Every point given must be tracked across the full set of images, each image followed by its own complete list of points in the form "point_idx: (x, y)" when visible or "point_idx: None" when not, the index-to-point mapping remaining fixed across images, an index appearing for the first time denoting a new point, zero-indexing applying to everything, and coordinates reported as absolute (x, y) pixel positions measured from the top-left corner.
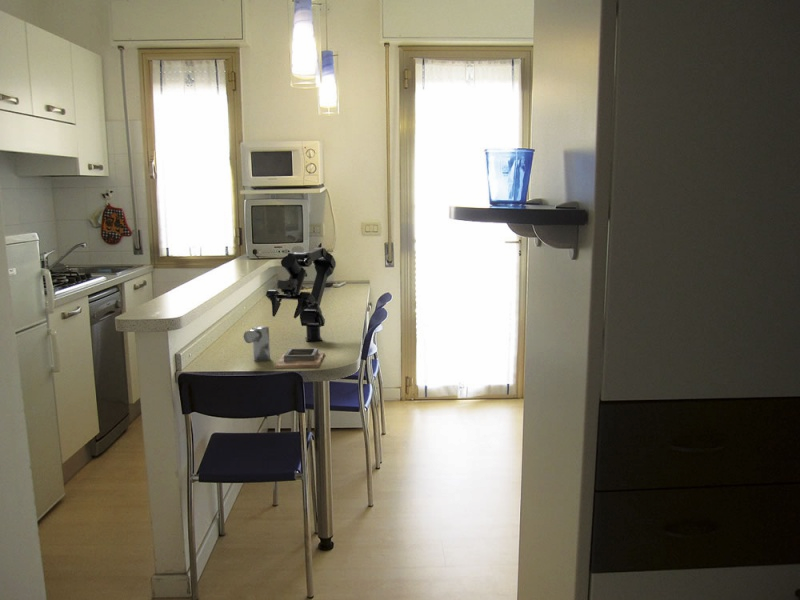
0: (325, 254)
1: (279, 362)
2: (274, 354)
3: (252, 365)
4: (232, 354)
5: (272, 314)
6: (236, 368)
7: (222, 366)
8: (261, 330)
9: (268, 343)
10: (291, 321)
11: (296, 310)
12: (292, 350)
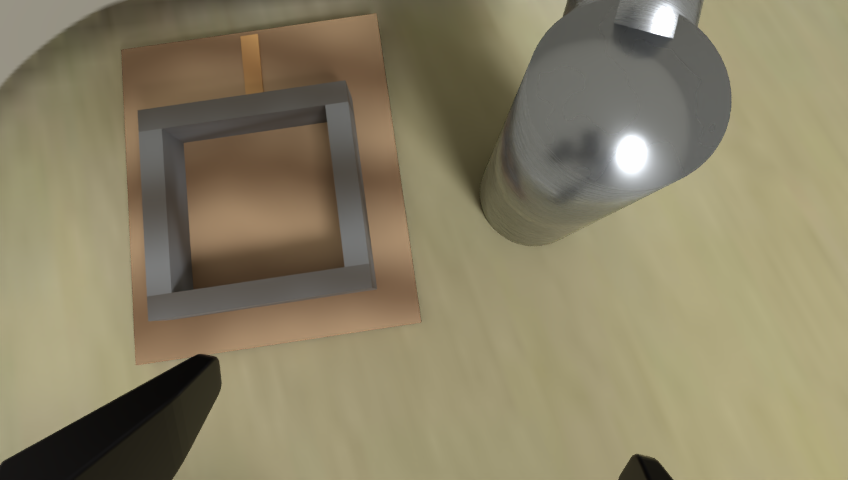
0: None
1: (373, 74)
2: (505, 343)
3: None
4: (802, 315)
5: (665, 473)
6: None
7: (712, 40)
8: (572, 15)
9: (497, 144)
10: None
11: (82, 441)
12: (341, 268)
